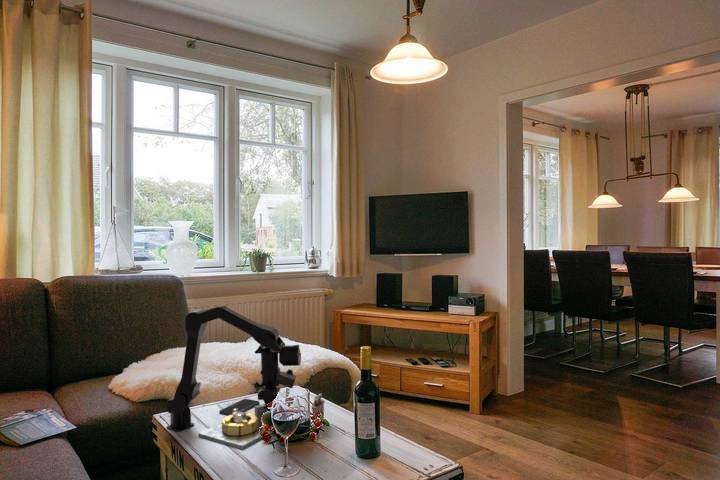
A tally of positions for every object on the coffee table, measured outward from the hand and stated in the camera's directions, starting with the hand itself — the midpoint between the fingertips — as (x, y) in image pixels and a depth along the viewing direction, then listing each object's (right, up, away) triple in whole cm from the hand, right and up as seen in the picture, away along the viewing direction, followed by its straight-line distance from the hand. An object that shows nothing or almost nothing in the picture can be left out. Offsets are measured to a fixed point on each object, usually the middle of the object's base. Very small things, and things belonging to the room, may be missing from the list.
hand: (270, 412), depth 163 cm
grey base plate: (-10, -5, -3) cm, 11 cm away
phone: (-15, -6, +19) cm, 25 cm away
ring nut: (-6, -4, -1) cm, 8 cm away
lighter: (+16, -6, +2) cm, 17 cm away
